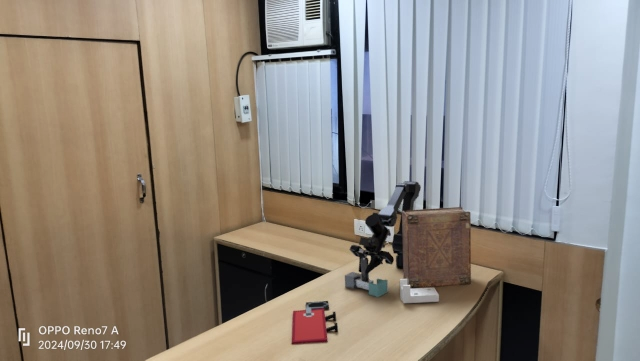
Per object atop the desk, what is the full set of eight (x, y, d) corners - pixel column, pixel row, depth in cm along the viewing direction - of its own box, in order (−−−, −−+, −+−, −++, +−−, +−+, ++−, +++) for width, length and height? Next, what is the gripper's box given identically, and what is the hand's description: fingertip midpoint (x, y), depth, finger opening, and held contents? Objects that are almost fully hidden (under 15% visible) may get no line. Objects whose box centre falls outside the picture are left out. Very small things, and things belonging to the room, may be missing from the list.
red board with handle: (333, 302, 179) (293, 305, 178) (332, 295, 178) (293, 298, 178) (339, 342, 149) (292, 346, 149) (339, 334, 149) (291, 338, 148)
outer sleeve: (345, 287, 193) (344, 275, 192) (352, 283, 197) (352, 271, 196) (353, 289, 190) (353, 277, 189) (361, 285, 194) (360, 274, 193)
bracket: (403, 305, 173) (403, 286, 172) (400, 298, 180) (399, 279, 179) (438, 303, 173) (438, 284, 172) (434, 296, 180) (433, 277, 179)
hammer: (346, 283, 194) (345, 255, 192) (351, 281, 196) (350, 253, 194) (369, 290, 186) (368, 261, 184) (373, 287, 188) (372, 258, 186)
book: (462, 276, 199) (462, 206, 194) (470, 284, 190) (471, 211, 185) (403, 280, 197) (401, 210, 193) (408, 288, 188) (407, 215, 184)
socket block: (368, 294, 184) (368, 282, 183) (378, 289, 189) (378, 277, 188) (378, 297, 181) (378, 284, 180) (387, 292, 186) (387, 279, 185)
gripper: (351, 225, 195) (335, 258, 188) (389, 232, 182) (372, 267, 176) (363, 239, 201) (348, 271, 195) (400, 246, 189) (385, 281, 183)
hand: (362, 272), depth 187 cm, fingers closed on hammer, 3 cm apart
